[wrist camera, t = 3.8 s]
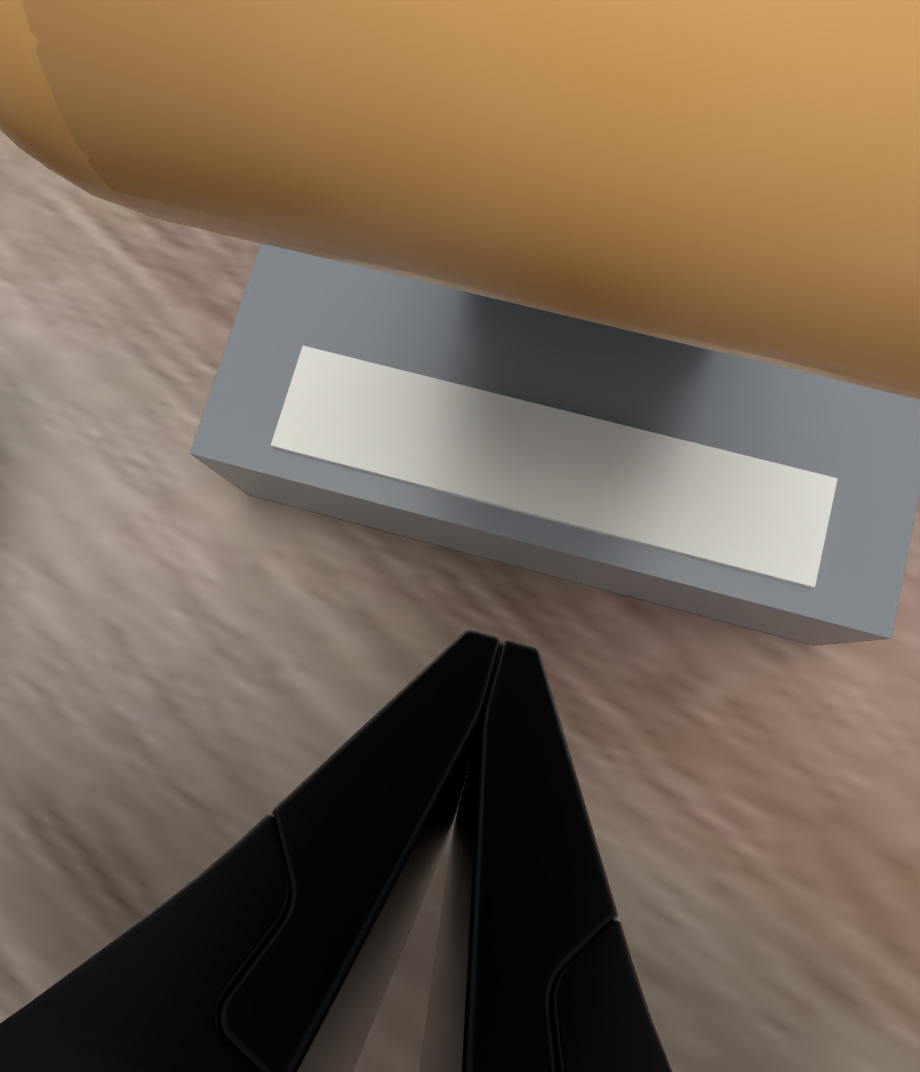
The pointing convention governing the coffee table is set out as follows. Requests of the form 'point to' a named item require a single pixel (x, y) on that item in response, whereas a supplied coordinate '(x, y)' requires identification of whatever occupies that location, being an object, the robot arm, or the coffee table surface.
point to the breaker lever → (522, 151)
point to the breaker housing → (569, 448)
